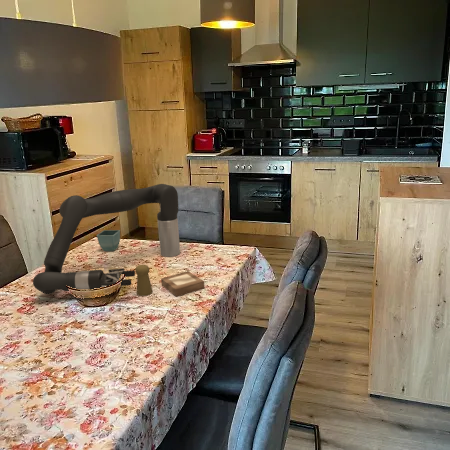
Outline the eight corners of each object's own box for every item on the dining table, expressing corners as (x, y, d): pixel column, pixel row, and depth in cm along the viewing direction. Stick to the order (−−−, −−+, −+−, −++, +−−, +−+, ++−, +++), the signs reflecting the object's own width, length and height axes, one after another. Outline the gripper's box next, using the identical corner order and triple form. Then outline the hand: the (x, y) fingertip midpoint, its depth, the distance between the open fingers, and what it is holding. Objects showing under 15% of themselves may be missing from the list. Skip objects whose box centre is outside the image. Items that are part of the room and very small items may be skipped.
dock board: (161, 285, 173) (161, 278, 172) (188, 278, 179) (188, 270, 178) (176, 296, 162) (175, 289, 161) (204, 288, 168) (204, 280, 167)
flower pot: (98, 252, 215) (96, 235, 213) (106, 246, 223) (103, 230, 221) (115, 252, 214) (113, 235, 211) (122, 247, 222) (120, 230, 219)
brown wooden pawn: (155, 292, 167) (153, 265, 164) (143, 297, 163) (140, 269, 160) (146, 288, 171) (143, 261, 168) (133, 293, 167) (130, 266, 164)
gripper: (83, 278, 157) (128, 275, 158) (93, 264, 171) (135, 261, 171) (86, 297, 159) (131, 294, 160) (95, 282, 173) (137, 279, 173)
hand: (133, 277), depth 165 cm, fingers open, 8 cm apart
